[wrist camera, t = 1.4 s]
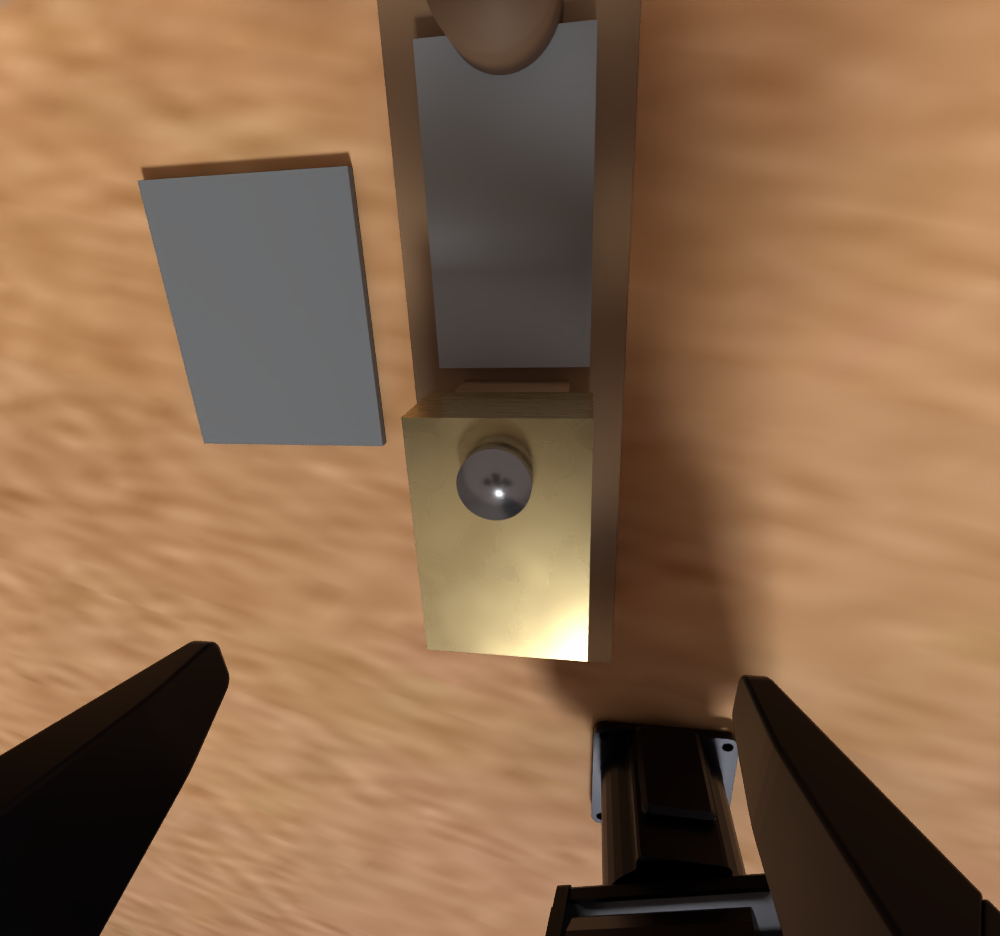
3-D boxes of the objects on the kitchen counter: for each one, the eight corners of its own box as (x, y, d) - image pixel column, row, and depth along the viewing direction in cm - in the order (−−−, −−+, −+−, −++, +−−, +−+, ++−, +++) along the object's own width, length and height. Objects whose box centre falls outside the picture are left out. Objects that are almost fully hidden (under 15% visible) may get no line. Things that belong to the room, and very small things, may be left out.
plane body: (608, 598, 24) (613, 715, 18) (463, 590, 25) (423, 698, 19) (634, -55, 16) (660, -235, 10) (416, -27, 17) (319, -176, 11)
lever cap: (588, 606, 17) (587, 677, 15) (447, 598, 18) (421, 663, 15) (593, 392, 15) (593, 426, 12) (429, 392, 16) (393, 425, 13)
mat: (386, 442, 23) (382, 445, 22) (210, 440, 24) (204, 443, 23) (352, 167, 19) (347, 166, 18) (145, 181, 20) (137, 180, 20)
